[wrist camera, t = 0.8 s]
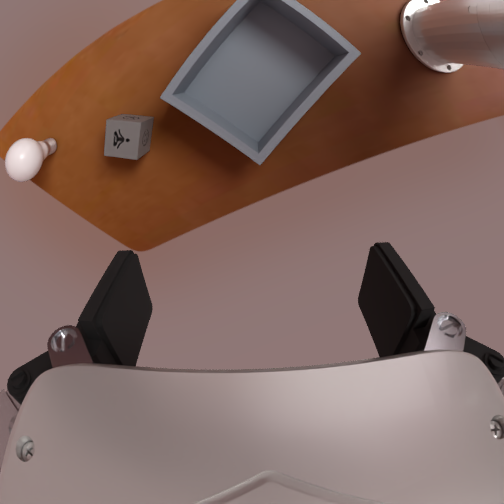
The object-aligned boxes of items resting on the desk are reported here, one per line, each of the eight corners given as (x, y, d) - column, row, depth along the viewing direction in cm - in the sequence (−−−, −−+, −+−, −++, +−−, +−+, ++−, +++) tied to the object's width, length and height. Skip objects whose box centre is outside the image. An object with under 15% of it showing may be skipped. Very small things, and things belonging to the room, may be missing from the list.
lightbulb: (73, 145, 36) (31, 169, 27) (53, 169, 38) (13, 197, 29) (53, 118, 33) (8, 136, 24) (34, 143, 35) (-8, 166, 26)
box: (258, -6, 25) (259, -22, 19) (343, 56, 30) (361, 53, 24) (175, 94, 33) (159, 97, 27) (259, 150, 38) (260, 165, 32)
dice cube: (122, 113, 34) (106, 119, 30) (154, 117, 35) (141, 122, 31) (119, 146, 37) (104, 155, 33) (149, 150, 38) (137, 160, 33)
